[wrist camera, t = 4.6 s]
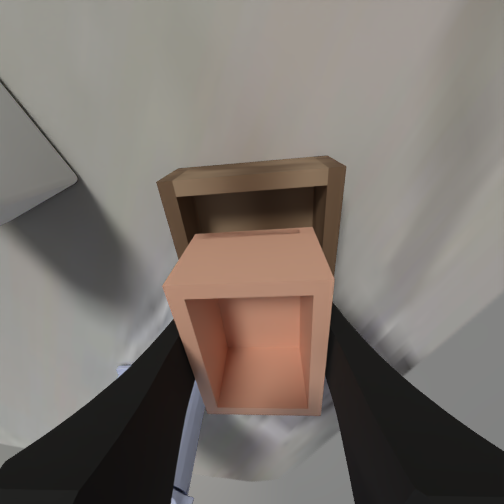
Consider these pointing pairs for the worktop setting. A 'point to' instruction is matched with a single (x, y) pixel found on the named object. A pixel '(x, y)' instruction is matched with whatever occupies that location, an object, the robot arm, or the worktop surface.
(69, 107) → the worktop surface
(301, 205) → the big crate
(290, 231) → the small crate
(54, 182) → the medicine bottle
